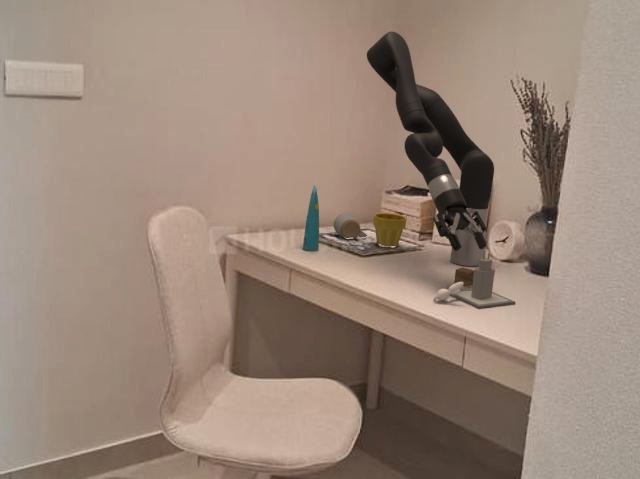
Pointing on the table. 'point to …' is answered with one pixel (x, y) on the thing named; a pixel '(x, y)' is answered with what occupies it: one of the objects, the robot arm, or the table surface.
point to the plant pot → (389, 228)
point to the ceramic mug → (348, 226)
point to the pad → (483, 300)
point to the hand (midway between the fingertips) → (471, 248)
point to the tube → (312, 224)
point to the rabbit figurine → (449, 291)
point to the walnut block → (464, 276)
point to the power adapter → (483, 279)
